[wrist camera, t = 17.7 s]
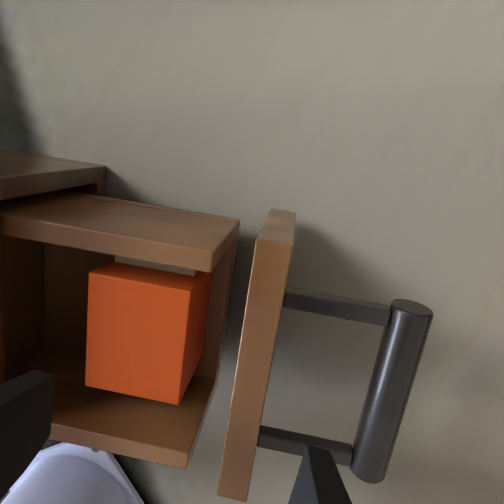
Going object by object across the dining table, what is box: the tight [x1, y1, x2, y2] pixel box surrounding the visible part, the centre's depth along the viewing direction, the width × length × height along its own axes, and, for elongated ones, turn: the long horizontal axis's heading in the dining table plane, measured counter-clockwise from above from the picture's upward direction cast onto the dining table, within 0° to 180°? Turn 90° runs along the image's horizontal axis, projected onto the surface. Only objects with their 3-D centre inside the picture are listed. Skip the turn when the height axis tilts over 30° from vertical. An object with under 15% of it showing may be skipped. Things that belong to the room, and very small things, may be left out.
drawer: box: [0, 189, 433, 502], centre depth 17 cm, size 18×10×6 cm, turn 82°
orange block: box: [85, 256, 213, 405], centre depth 17 cm, size 4×7×4 cm, turn 172°
